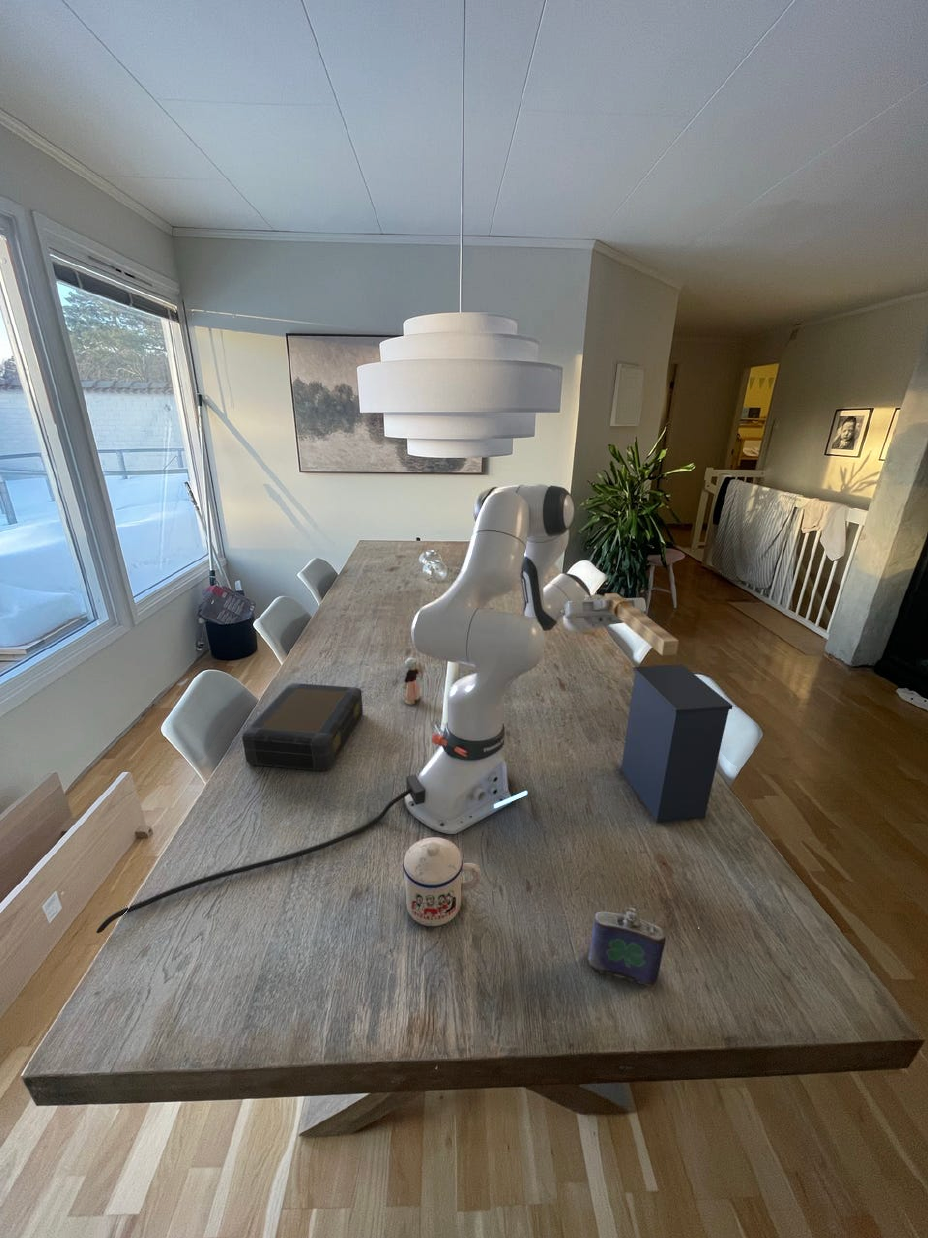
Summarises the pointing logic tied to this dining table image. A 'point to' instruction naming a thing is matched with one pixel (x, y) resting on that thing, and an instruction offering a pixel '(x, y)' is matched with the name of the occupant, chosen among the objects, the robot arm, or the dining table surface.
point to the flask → (626, 946)
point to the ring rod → (642, 625)
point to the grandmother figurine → (411, 681)
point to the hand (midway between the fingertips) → (616, 602)
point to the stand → (673, 741)
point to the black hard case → (304, 727)
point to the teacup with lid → (435, 880)
